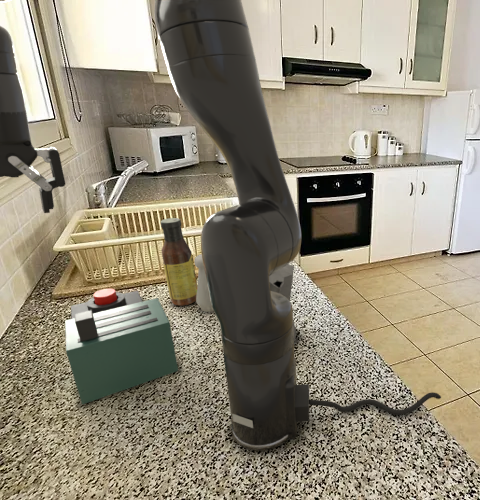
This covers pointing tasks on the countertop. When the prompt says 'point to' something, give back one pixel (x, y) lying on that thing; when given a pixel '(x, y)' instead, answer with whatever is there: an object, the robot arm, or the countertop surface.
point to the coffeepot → (283, 283)
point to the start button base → (121, 301)
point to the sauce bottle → (178, 264)
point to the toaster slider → (86, 325)
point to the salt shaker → (202, 287)
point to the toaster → (121, 350)
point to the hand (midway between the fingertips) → (11, 213)
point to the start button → (105, 296)
